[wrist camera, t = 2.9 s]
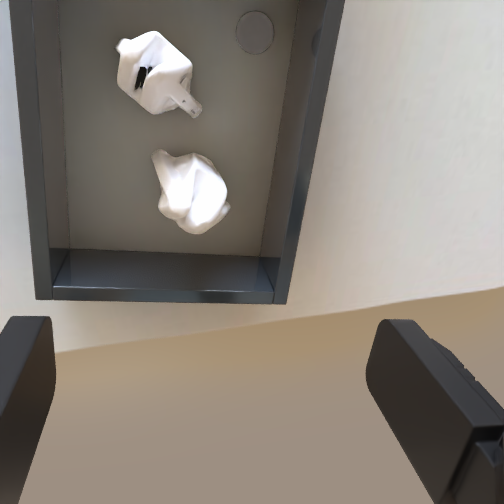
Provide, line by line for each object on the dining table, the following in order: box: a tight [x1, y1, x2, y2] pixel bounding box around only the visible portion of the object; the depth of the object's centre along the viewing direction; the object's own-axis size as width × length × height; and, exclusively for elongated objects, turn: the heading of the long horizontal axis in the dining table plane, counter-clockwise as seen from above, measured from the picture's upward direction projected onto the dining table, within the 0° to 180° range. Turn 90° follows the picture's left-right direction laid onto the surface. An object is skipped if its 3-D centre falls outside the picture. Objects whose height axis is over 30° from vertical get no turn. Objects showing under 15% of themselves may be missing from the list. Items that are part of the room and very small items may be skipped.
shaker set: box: [115, 31, 230, 234], centre depth 24 cm, size 12×4×11 cm, turn 13°
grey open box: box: [9, 0, 345, 304], centre depth 26 cm, size 16×20×6 cm
